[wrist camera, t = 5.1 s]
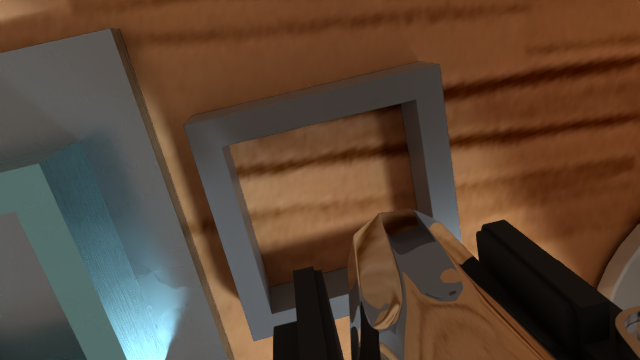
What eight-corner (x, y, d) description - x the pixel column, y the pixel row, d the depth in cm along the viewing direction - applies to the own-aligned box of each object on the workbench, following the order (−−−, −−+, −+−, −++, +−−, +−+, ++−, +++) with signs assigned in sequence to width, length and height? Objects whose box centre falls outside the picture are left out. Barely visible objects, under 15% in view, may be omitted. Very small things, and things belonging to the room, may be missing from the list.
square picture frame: (420, 61, 17) (439, 64, 15) (447, 260, 20) (466, 283, 18) (191, 115, 17) (183, 125, 15) (254, 312, 20) (253, 341, 18)
